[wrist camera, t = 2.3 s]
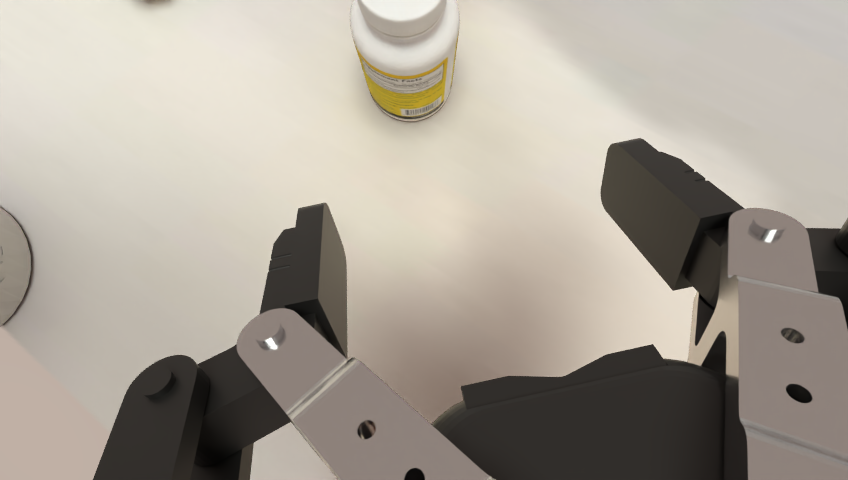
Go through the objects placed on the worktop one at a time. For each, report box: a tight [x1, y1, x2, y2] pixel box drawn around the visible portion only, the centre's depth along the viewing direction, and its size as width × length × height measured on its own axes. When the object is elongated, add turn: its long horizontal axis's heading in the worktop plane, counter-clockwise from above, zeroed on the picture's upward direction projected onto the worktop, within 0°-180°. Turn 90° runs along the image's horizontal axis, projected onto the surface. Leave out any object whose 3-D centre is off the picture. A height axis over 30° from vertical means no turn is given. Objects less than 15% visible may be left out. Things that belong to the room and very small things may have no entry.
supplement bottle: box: [350, 0, 460, 121], centre depth 22 cm, size 5×5×10 cm
